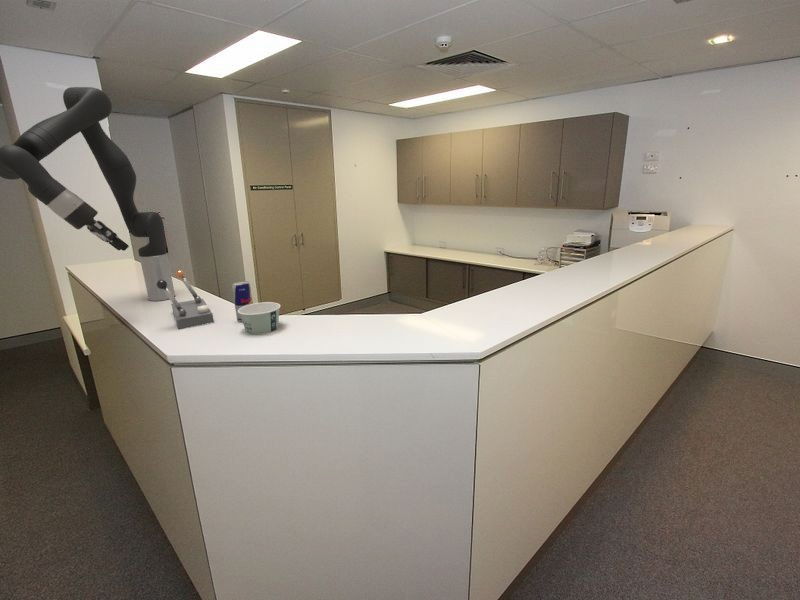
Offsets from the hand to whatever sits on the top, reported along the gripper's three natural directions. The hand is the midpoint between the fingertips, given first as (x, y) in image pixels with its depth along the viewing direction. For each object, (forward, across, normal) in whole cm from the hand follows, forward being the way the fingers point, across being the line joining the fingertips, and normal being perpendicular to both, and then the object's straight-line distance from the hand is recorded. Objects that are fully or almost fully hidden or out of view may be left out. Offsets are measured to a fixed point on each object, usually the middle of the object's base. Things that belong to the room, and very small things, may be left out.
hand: (124, 248), depth 127 cm
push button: (+26, -16, +2) cm, 31 cm away
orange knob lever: (+26, -3, -1) cm, 26 cm away
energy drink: (+35, -25, -3) cm, 43 cm away
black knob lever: (+22, -15, +6) cm, 27 cm away
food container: (+36, -37, -2) cm, 52 cm away
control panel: (+27, -8, +5) cm, 29 cm away
